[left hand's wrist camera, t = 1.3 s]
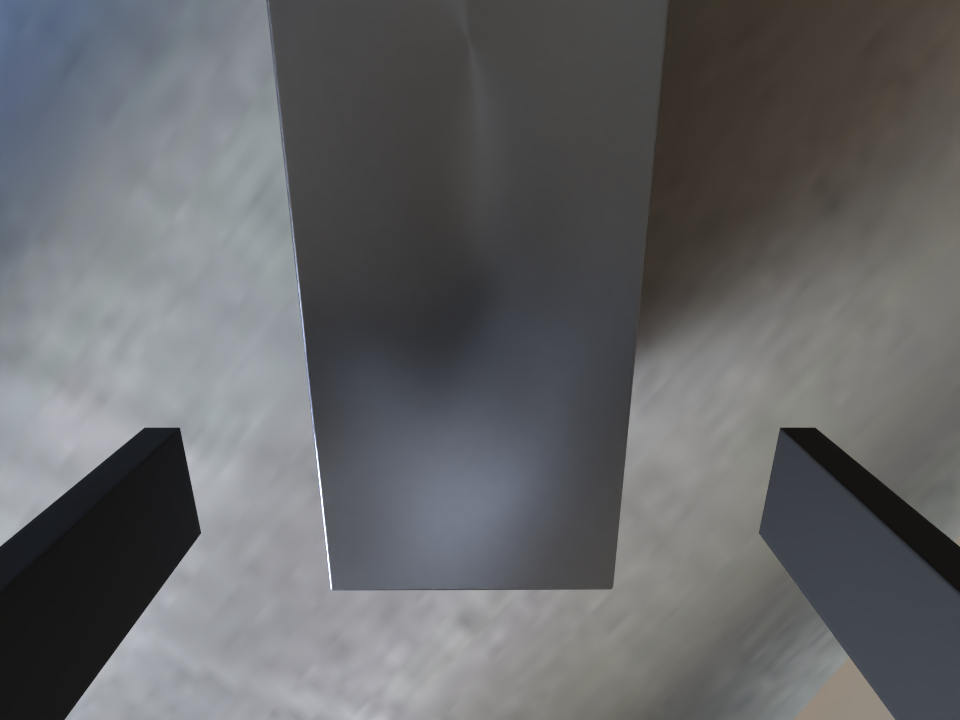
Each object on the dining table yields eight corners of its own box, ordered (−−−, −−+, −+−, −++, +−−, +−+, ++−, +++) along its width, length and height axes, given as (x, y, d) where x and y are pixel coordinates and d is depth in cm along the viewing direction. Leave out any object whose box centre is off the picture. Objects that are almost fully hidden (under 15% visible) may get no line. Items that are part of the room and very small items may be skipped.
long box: (553, 399, 26) (613, 590, 15) (394, 399, 26) (329, 592, 15) (587, -336, 18) (791, -1246, 6) (354, -336, 18) (127, -1254, 6)
